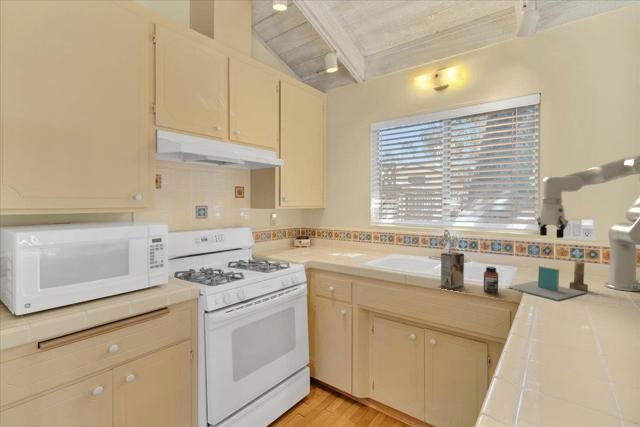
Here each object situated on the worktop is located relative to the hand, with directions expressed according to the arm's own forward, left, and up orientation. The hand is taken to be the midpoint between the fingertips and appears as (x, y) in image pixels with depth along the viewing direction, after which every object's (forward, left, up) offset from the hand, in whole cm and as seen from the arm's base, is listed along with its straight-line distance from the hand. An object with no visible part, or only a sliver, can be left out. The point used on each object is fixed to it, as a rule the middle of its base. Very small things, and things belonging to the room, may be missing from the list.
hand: (551, 236), depth 160 cm
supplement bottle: (+6, +37, -25) cm, 45 cm away
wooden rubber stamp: (-11, -3, -24) cm, 27 cm away
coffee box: (+21, +45, -25) cm, 55 cm away
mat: (-5, +13, -24) cm, 28 cm away
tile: (-5, +11, -19) cm, 22 cm away
